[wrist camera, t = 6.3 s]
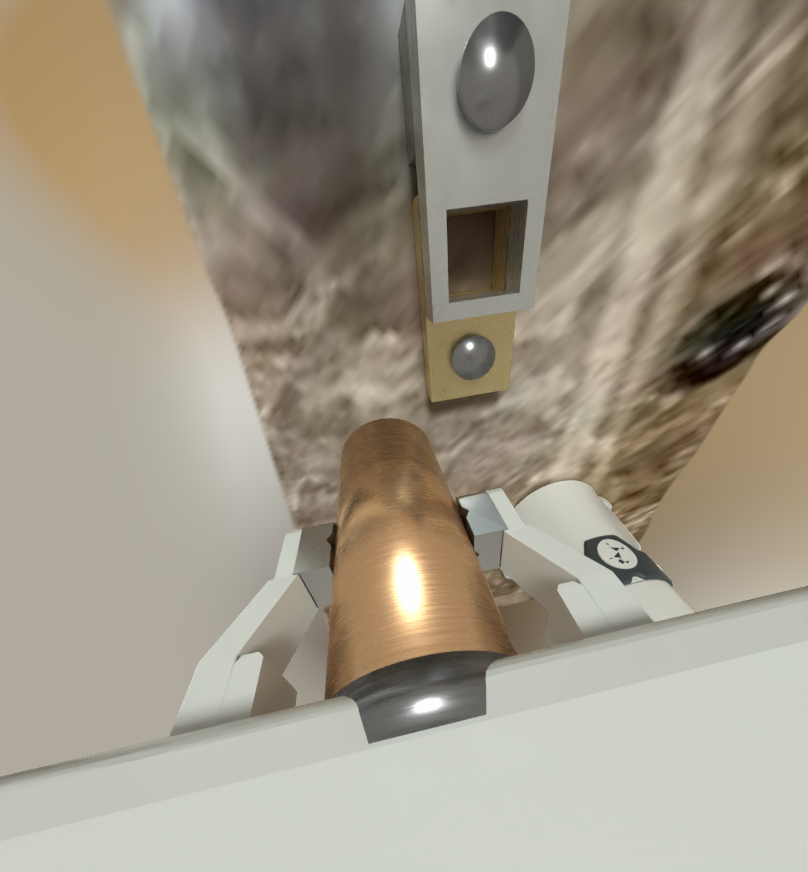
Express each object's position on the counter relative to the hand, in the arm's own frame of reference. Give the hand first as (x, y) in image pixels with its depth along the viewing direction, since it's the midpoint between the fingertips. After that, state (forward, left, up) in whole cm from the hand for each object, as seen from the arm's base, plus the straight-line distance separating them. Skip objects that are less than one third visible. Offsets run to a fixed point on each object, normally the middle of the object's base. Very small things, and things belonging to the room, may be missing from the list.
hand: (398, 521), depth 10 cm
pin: (0, 0, -4) cm, 4 cm away
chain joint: (+7, -9, -21) cm, 24 cm away
